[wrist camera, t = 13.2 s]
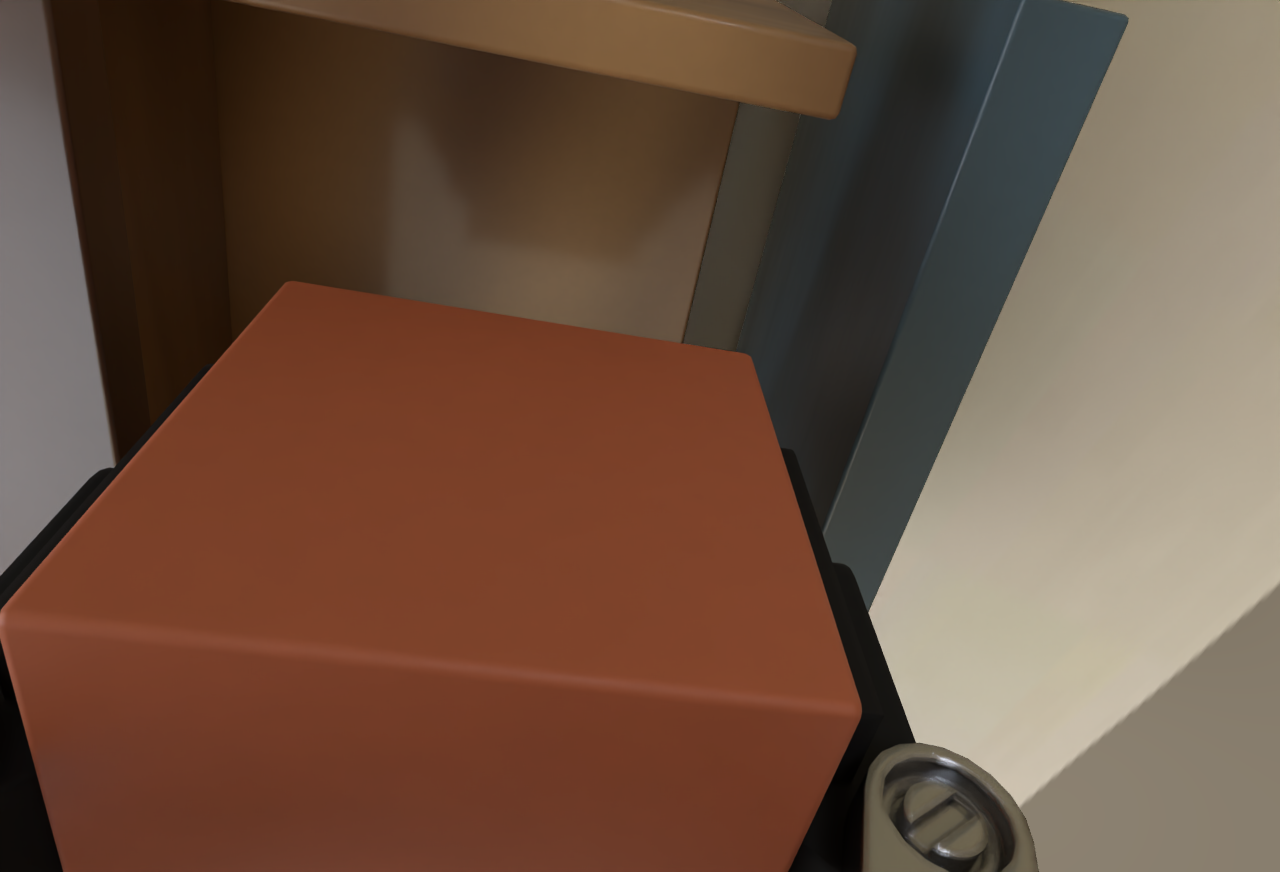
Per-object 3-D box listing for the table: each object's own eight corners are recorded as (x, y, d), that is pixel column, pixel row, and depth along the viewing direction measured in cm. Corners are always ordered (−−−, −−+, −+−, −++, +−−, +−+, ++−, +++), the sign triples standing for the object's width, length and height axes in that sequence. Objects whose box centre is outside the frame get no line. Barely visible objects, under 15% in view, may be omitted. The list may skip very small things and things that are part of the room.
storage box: (968, -17, 16) (1239, 39, 9) (781, 524, 22) (857, 793, 15) (176, -194, 14) (-226, -289, 7) (224, 449, 20) (35, 715, 14)
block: (753, 351, 9) (870, 712, 5) (662, 668, 12) (691, 1085, 8) (285, 276, 9) (-16, 617, 5) (295, 627, 11) (107, 1056, 7)
